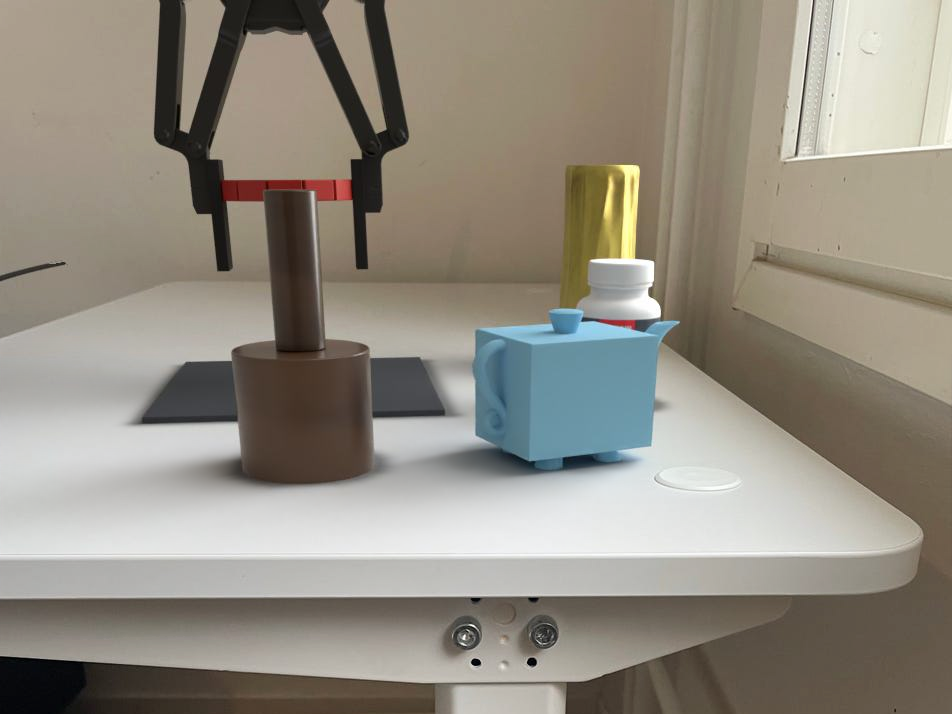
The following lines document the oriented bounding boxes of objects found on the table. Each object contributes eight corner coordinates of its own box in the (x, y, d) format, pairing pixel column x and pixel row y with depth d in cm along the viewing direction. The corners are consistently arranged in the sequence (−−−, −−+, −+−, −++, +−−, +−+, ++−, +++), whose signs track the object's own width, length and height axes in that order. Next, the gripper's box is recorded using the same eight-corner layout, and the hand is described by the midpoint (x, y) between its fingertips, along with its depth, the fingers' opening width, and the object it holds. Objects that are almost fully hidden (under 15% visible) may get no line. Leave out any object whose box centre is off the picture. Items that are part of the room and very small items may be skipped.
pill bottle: (589, 418, 63) (596, 265, 59) (559, 401, 67) (564, 258, 63) (667, 413, 64) (679, 263, 60) (633, 397, 69) (642, 256, 65)
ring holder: (248, 456, 54) (222, 189, 49) (372, 452, 55) (361, 188, 50) (237, 490, 48) (207, 190, 43) (377, 485, 49) (364, 190, 44)
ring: (229, 199, 69) (227, 180, 68) (352, 198, 70) (351, 179, 69) (217, 201, 61) (214, 180, 61) (354, 201, 62) (353, 179, 62)
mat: (186, 369, 78) (185, 361, 78) (420, 364, 81) (419, 356, 80) (142, 427, 60) (141, 417, 60) (445, 419, 62) (445, 409, 62)
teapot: (638, 433, 59) (647, 297, 56) (703, 457, 54) (716, 309, 51) (449, 455, 54) (448, 308, 51) (501, 484, 49) (503, 322, 46)
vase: (593, 379, 75) (603, 164, 69) (536, 368, 79) (541, 165, 73) (649, 370, 78) (663, 165, 72) (592, 360, 82) (601, 165, 76)
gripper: (53, -186, 53) (118, 276, 62) (453, -171, 56) (458, 271, 65) (84, -144, 60) (139, 266, 69) (440, -133, 62) (447, 262, 72)
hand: (294, 268), depth 67 cm, fingers closed on ring, 8 cm apart
